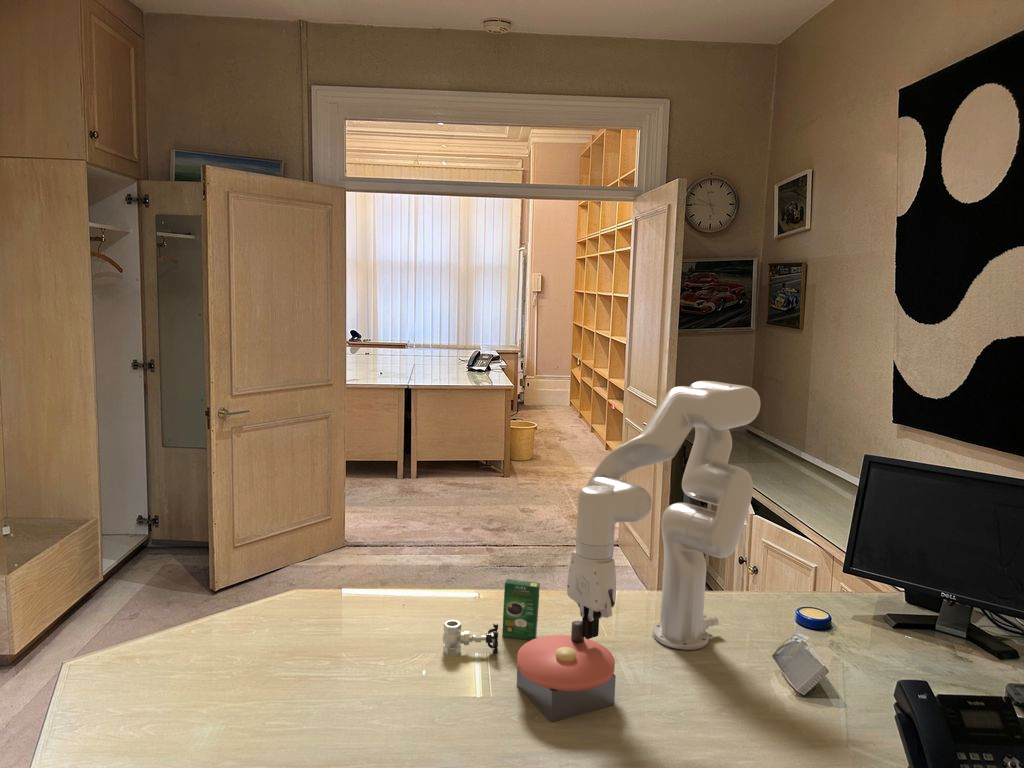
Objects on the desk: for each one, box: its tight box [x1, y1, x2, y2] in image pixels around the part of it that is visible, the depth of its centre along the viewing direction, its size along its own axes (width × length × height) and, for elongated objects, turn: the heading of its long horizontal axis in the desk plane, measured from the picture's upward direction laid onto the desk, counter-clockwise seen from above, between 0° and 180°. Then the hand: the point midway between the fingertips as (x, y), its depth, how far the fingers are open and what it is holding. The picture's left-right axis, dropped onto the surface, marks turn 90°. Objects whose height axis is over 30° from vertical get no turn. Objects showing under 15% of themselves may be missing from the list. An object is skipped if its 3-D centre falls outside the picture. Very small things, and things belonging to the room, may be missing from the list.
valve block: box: [516, 665, 617, 723], centre depth 144 cm, size 14×14×6 cm
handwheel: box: [516, 620, 616, 691], centre depth 143 cm, size 19×19×5 cm
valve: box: [442, 619, 499, 657], centre depth 160 cm, size 7×7×12 cm
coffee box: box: [501, 578, 541, 641], centre depth 167 cm, size 8×3×13 cm, turn 79°
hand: (589, 636), depth 149 cm, fingers closed
